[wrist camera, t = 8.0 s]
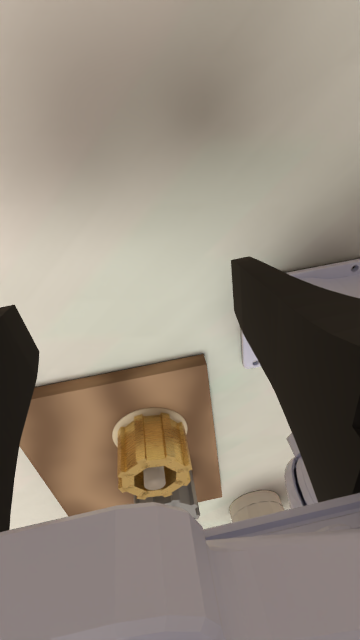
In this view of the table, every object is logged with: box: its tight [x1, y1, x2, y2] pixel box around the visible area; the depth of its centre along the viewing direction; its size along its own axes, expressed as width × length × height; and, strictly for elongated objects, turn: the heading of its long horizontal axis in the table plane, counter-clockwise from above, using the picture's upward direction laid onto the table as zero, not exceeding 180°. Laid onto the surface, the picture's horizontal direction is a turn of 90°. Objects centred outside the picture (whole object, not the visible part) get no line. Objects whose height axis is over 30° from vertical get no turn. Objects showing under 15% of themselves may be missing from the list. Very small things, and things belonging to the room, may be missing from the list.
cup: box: [229, 490, 284, 522], centre depth 37 cm, size 8×8×12 cm
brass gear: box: [117, 412, 192, 500], centre depth 28 cm, size 6×6×4 cm
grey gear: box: [134, 470, 200, 519], centre depth 31 cm, size 6×6×4 cm
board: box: [19, 354, 222, 516], centre depth 30 cm, size 16×20×6 cm
